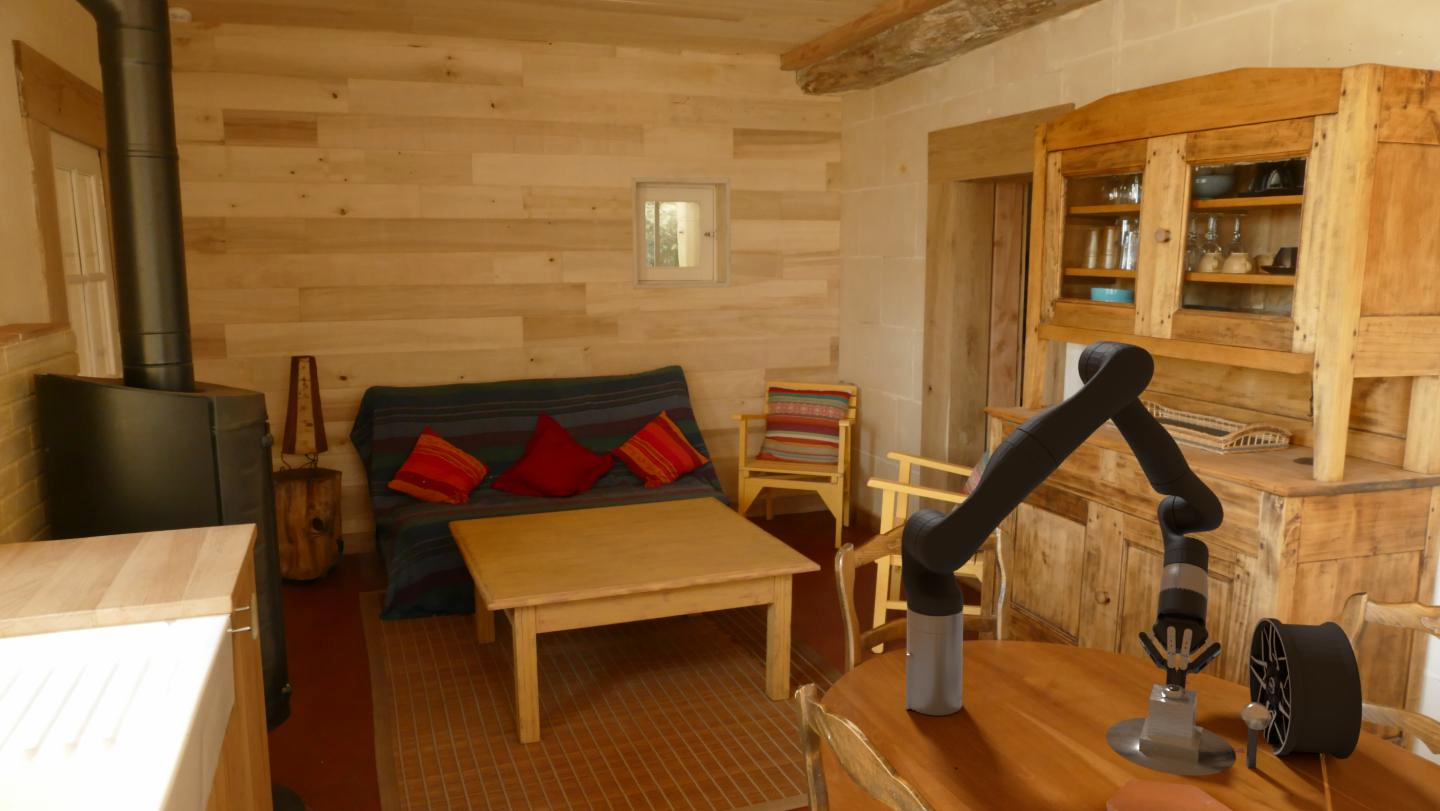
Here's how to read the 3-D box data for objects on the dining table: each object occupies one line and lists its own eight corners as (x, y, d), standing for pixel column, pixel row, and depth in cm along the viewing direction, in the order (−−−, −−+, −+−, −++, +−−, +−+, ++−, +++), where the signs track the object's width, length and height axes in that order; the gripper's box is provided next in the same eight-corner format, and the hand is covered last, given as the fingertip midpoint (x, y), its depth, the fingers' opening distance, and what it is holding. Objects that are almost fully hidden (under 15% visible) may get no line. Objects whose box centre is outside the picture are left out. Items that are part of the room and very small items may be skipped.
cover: (1138, 750, 153) (1141, 692, 151) (1146, 728, 160) (1148, 673, 158) (1197, 762, 149) (1200, 703, 147) (1202, 739, 156) (1205, 682, 154)
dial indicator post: (1240, 779, 146) (1244, 705, 145) (1234, 768, 149) (1238, 695, 148) (1267, 781, 146) (1272, 706, 144) (1260, 770, 149) (1265, 697, 147)
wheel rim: (1245, 717, 165) (1252, 599, 162) (1307, 721, 163) (1315, 602, 160) (1286, 780, 146) (1294, 647, 143) (1357, 786, 144) (1367, 651, 141)
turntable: (1116, 772, 148) (1116, 769, 148) (1097, 716, 165) (1097, 713, 165) (1262, 784, 144) (1262, 780, 144) (1227, 725, 161) (1227, 722, 161)
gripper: (1139, 581, 172) (1129, 677, 163) (1227, 591, 166) (1221, 692, 157) (1141, 601, 178) (1131, 695, 169) (1226, 612, 172) (1220, 710, 163)
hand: (1175, 693), depth 163 cm, fingers closed
